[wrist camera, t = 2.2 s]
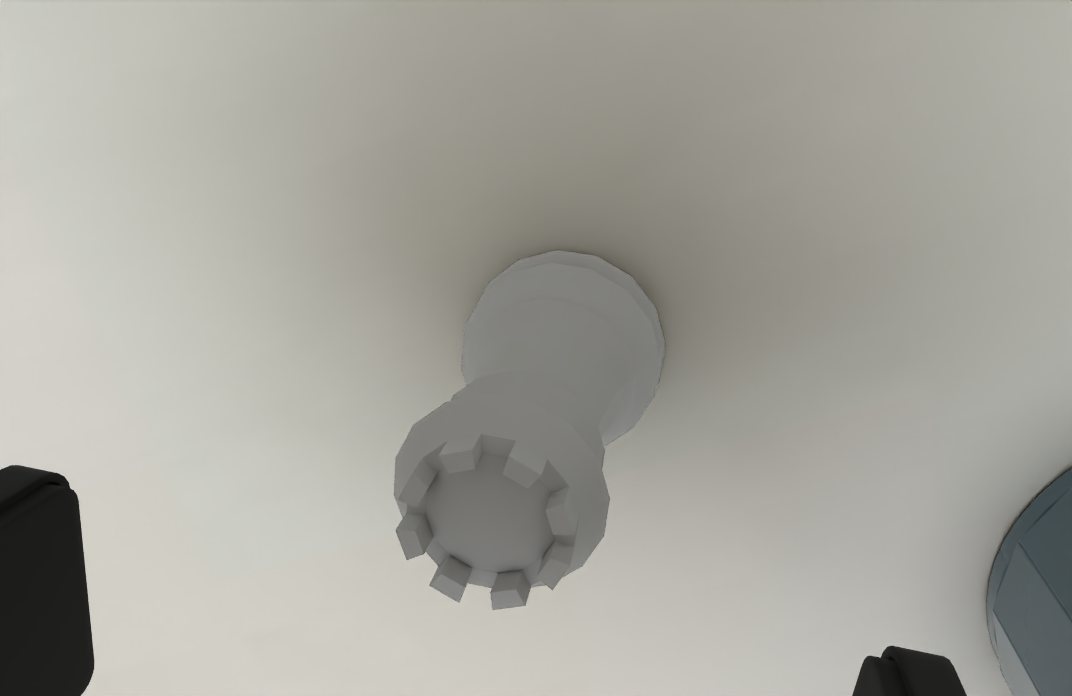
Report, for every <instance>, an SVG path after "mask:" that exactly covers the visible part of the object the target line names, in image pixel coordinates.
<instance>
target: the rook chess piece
mask: <svg viewBox="0 0 1072 696" xmlns="http://www.w3.org/2000/svg"><path fill="white" fill-rule="evenodd" d="M665 346H666V345H665V341H664V337H663V333H662V329H661V325H660V321H659V317H658V313H657V309H656V307H655V306H654V305H653V303H652V302H651V301H650V300H649V298H648V297H647V296H646V294H645V293H644V292H643V290H642V289H641V288H640V286H639V285H638V284H637V282H636V281H635V280H634V278H633V277H632V276H630V275H628V274H627V273H625V272H623V271H622V270H620V269H618V268H617V267H615V266H613V265H611V264H610V263H608V262H606V261H605V260H603V259H601V258H600V257H598V256H594V255H587V254H580V253H574V252H567V251H560V250H555V251H551V252H547V253H543V254H539V255H535V256H531V257H527V258H523V259H519V260H518V261H516V262H515V263H514V264H512V265H511V266H510V267H508V268H507V269H506V270H504V271H503V272H502V273H501V274H499V275H498V276H497V277H495V278H494V279H493V280H491V281H490V282H489V283H488V285H487V287H486V289H485V291H484V292H483V294H482V296H481V297H480V299H479V301H478V303H477V305H476V307H475V309H474V310H473V312H472V314H471V316H470V318H469V320H468V321H467V323H466V325H465V327H464V338H463V351H462V365H461V370H462V373H463V376H464V379H465V382H466V385H467V386H466V387H464V388H463V389H461V390H460V391H459V392H457V393H456V394H454V396H453V398H452V399H451V401H449V402H445V403H444V404H442V405H441V406H440V407H438V408H437V409H435V410H434V411H433V412H431V413H430V414H428V415H427V416H425V417H424V418H423V419H421V420H420V421H418V422H417V423H416V424H414V425H413V427H412V429H411V431H410V432H409V434H408V436H407V438H406V440H405V442H404V443H403V445H402V447H401V449H400V451H399V453H398V454H397V456H396V463H395V484H394V496H395V499H396V501H397V504H398V507H399V509H400V512H401V515H402V517H403V519H402V521H401V522H400V524H399V526H398V527H397V529H396V533H397V536H398V538H399V541H400V543H401V546H402V549H403V551H404V554H405V557H406V559H407V560H409V559H412V558H414V557H417V556H420V555H423V554H424V553H425V551H426V552H427V554H428V555H429V556H430V557H431V558H432V559H433V560H434V562H435V563H436V564H437V565H438V566H439V567H438V569H437V571H436V573H435V575H434V577H433V579H432V581H431V583H430V585H429V586H431V587H433V588H434V589H436V590H438V591H440V592H441V593H443V594H445V595H447V596H448V597H450V598H452V599H453V600H455V601H457V602H460V599H461V597H462V595H463V592H464V590H465V588H466V585H467V583H469V584H474V585H479V586H484V587H489V588H492V590H491V592H490V593H491V601H492V609H493V610H496V609H503V608H511V607H519V606H525V605H526V602H527V598H528V595H529V592H530V589H531V587H537V586H544V585H547V586H548V587H549V588H550V589H551V590H553V589H554V588H555V586H556V585H557V583H558V582H559V580H560V579H561V578H562V577H564V576H566V575H567V574H569V573H571V572H573V571H574V570H576V569H578V568H580V567H582V566H583V564H584V563H585V562H586V560H587V559H588V557H589V556H590V555H591V553H592V552H593V550H594V549H595V548H596V546H597V545H598V543H599V542H600V541H601V539H602V538H603V536H604V532H605V525H606V519H607V513H608V507H609V501H610V497H609V494H608V490H607V487H606V483H605V480H604V476H603V473H602V465H603V459H604V453H605V449H604V446H606V445H607V444H609V443H611V442H612V441H614V440H615V439H617V438H619V437H620V436H622V435H623V434H625V433H627V432H628V431H629V430H631V429H632V428H633V427H634V425H635V424H636V423H637V421H638V420H639V418H640V417H641V415H642V414H643V412H644V411H645V409H646V408H647V407H648V405H649V404H650V402H651V401H652V399H653V398H654V396H655V390H656V386H657V384H658V383H659V380H660V374H661V369H662V363H663V357H664V352H665Z"/></svg>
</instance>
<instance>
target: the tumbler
mask: <svg viewBox="0 0 1072 696" xmlns="http://www.w3.org/2000/svg"><path fill="white" fill-rule="evenodd" d="M987 622H988V628H989V632H990V637H991V641H992V645H993V647H994V650H995V652H996V654H997V657H998V659H999V662H1000V670H1001V672H1002V675H1003V677H1004V679H1005V681H1006V683H1007V685H1008V687H1009V689H1010V691H1011V693H1012V695H1013V696H1072V469H1070V470H1069V471H1067V472H1066V473H1064V474H1063V475H1062V476H1060V477H1059V478H1057V479H1056V480H1055V481H1054V482H1053V483H1052V484H1051V485H1049V486H1048V487H1047V488H1046V489H1045V490H1044V491H1043V492H1042V493H1041V494H1039V495H1038V496H1037V497H1036V498H1035V499H1034V501H1033V502H1032V503H1031V504H1030V505H1029V506H1028V507H1027V509H1026V510H1025V511H1024V512H1023V513H1022V514H1021V515H1020V517H1019V518H1018V519H1017V521H1016V523H1015V524H1014V526H1013V527H1012V529H1011V530H1010V532H1009V533H1008V535H1007V536H1006V538H1005V540H1004V542H1003V544H1002V546H1001V548H1000V550H999V553H998V555H997V557H996V559H995V562H994V566H993V569H992V573H991V576H990V580H989V586H988V595H987Z"/></svg>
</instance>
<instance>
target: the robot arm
mask: <svg viewBox="0 0 1072 696" xmlns="http://www.w3.org/2000/svg"><path fill="white" fill-rule="evenodd" d="M93 670H94V654H93V644H92V633H91V623H90V613H89V603H88V593H87V583H86V572H85V562H84V552H83V542H82V532H81V522H80V511H79V501H78V497H77V494H76V493H75V492H74V490H72V489H70V486H69V482H68V481H67V480H66V478H65V477H64V476H62V475H60V474H58V473H54V472H49V471H44V470H39V469H34V468H29V467H25V466H20V465H11V466H8V467H6V468H3V469H1V470H0V696H81V695H82V693H83V692H84V691H85V689H86V688H87V686H88V684H89V682H90V680H91V677H92V674H93ZM852 696H967V695H966V693H965V691H964V688H963V686H962V684H961V682H960V680H959V677H958V675H957V673H956V671H955V669H954V666H953V665H952V663H951V662H950V660H949V659H947V658H946V657H943V656H939V655H934V654H929V653H924V652H919V651H914V650H910V649H905V648H900V647H895V646H889V647H887V648H886V649H885V651H884V652H883V654H882V656H881V658H879V657H874V656H867V657H866V658H865V660H864V662H863V664H862V667H861V670H860V673H859V676H858V679H857V683H856V686H855V689H854V692H853V695H852Z"/></svg>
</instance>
